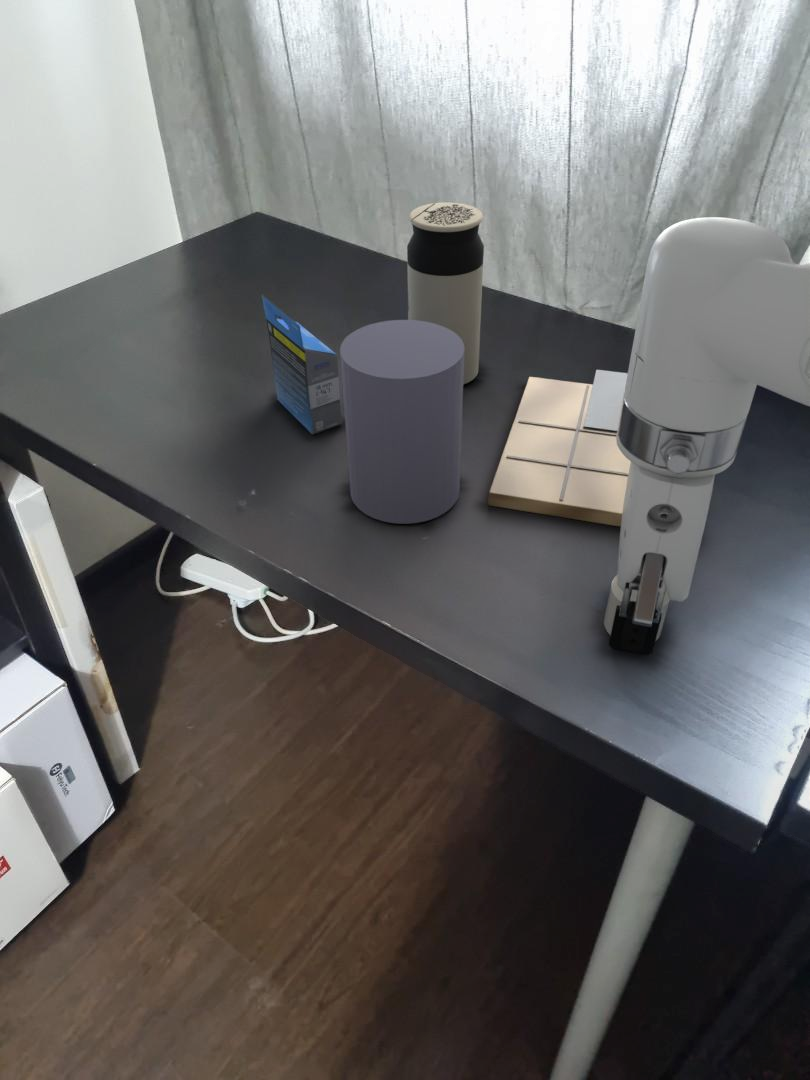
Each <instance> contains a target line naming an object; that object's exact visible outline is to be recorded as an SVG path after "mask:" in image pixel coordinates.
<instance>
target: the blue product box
mask: <svg viewBox="0 0 810 1080" xmlns="http://www.w3.org/2000/svg"><path fill="white" fill-rule="evenodd" d="M261 298H262V303H263V309H264V315H265V320H266V327H267V334H268V341H269V349H270V355H271V363H272V371H273V378H274V385H275V392H276V400H277V401H278V402H279V403H280V404H281V405H282V406H283V407H284V408H285V409H286V410H287V411H288V412H289V413H290V414H291V415H292V417H294V418H295V419H296V421H298V422H299V423H300V424H301V425H302V426H303V427H304V428H305V429H306V430H307V431H308V432H309V433H310V434H311V435H316V434H319V433H322V432H325V431H328V430H330V429H334V428H336V427H339V426H341V425H342V424H343V420H342V419H343V418H342V409H341V395H340V394H341V393H340V380H339V378H340V377H339V366H338V365H339V364H338V354H337V353H336V352H334V351H333V350H332V349H331V348H330V347H328V346H327V345H326V344H325V343H323V342H322V340H320V339H318V338H317V337H316V336H315V335H314V334H312V333H311V332H310V331H309V330H308V329H306V328H305V327H304V326H302V325H301V324H300V323H299V322H298V321H295V320H294V319H293V318H291V317H290V316H289V315H288V314H286V312H284V311H283V310H282V309H281V308H279V307H278V306H277V305H276V304H275V303H273V301H271V300H270V299H268V298H267V297H266V296H265V295H264V294H261Z"/></svg>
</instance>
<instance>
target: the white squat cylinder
mask: <svg viewBox="0 0 810 1080" xmlns="http://www.w3.org/2000/svg"><path fill="white" fill-rule="evenodd" d="M637 576H641V574H638V575H637ZM660 580H661V578H660ZM637 593H638V590H633V589H632V593H631V598H630V601H635V602H636V599H637ZM622 596H623V591H622V590H621V589H620V588H619V586H618V585H617V574H616V575H615V576H614V578H613V579H612V580H611V583H610V589H609V594H608V598H607V602H606V608H605V613H604V618H603V625H604V629H605V630H606V632H607V634H608V635H609V636H610V635H611V630H612V626H613V621H614V616H615V611H616V607H617V605H619V606H621V601H622ZM670 602H671V600H670V599H669V597H668V594H667V590H666V592H665V596H664V600H663V605H662V609H661V613H662V617H661V622H660V625H659V629H658V633H657V637H656V640H655V642H657V641H658V640H659V638H660V637H661V634H662V631H663V628H664V624H665V620H666V617H667V613H668V610H669V606H670Z"/></svg>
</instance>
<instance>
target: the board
mask: <svg viewBox="0 0 810 1080" xmlns="http://www.w3.org/2000/svg"><path fill="white" fill-rule="evenodd" d="M627 375H628V372H620V371H611V370H604V369H603V370H602V369H596V370H595V374H594V378H593V383H592V384H591V383H585V382H584V383H583V382H575V381H567V380H559V379H552V378H544V377H537V376H536V377H535V376H529V377H528V379H527V382H526V386H525V387H524V391H523V394H522V396H521V399H520V402H519V405H518V407H517V410H516V414H515V416H514V418H513V419H514V420H513V422H512V426H511V427H510V431H509V434H508V437H507V438H506V439H507V440H506V442H505V445H504V448H503V451H502V454H501V457H500V461H499V463H498V464H497V465H498V466H497V468H496V471H495V474H494V477H493V480H492V483H491V486H490V489H489V491H488V500H487V505H488V506H491V507H496V508H503V509H508V510H509V509H510V510H515V511H521V512H529V513H535V514H539V515H540V514H541V515H545V516H546V515H547V516H551V517H552V516H553V517H558V518H565V519H571V520H575V521H576V520H577V521H583V522H589V523H594V524H595V523H596V524H601V525H606V526H607V525H608V526H614V527H620V528H621V521H622V512H623V504H624V497H625V491H626V485H627V479H628V474H629V468H630V463H631V461H630V460H629V459H627V458H626V457H625V456H624V455H623V454H622V452H621V451H620V449H619V447H618V446H617V441H616V435H617V430H618V425H619V419H620V414H621V408H622V403H623V397H624V392H625V386H626V380H627Z"/></svg>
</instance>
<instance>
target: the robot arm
mask: <svg viewBox="0 0 810 1080" xmlns="http://www.w3.org/2000/svg"><path fill="white" fill-rule="evenodd" d="M638 308H639V309H638V314H637V320H636V325H635V331H634V337H633V342H632V348H631V353H630V359H629V364H628V370H627V373H628V375H627V380H626V386H625V392H624V397H623V403H622V408H621V414H620V419H619V425H618V430H617V435H616V441H617V446H618V447H619V449H620V451H621V452H622V454H623V455H624V456H625V457H626V458H627V459H629V460H630V461H631V463H630V468H629V474H628V479H627V485H626V491H625V497H624V504H623V512H622V521H621V527H620V531H619V542H618V543H619V544H618V558H617V559H618V560H617V574H616V575H617V585H618V586H619V588H620V589H621V590H622V591H623V596H622V601H621V606H619V605H617V607H616V611H615V616H614V621H613V626H612V630H611V635H609V640H608V646H609V647H610V648H613V649H617V650H622V651H627V652H632V653H637V654H642V655H643V654H644V655H651V654H652V653H653V651H654V648H655V645H656V644H655V643H656V641H657V640H656V637H657V633H658V629H659V625H660V622H661V617H662V613H661V609H662V605H663V600H664V596H665V592H666V590H667V594H668V597H669V599H670V601H675V602H678V603H682V602H684V601H685V600H686V599H688V597H689V596H690V590H691V585H692V581H693V577H694V572H695V568H696V565H697V560H698V556H699V553H700V549H701V546H702V545H701V544H702V541H703V537H704V536H703V535H704V533H705V532H704V531H705V528H706V523H707V519H708V515H709V510H710V505H711V501H712V495H713V490H714V483H715V478H716V475H718V474H720V473H723V472H724V471H726V470H727V469H728V468H730V467H731V465H732V464H733V463H734V462H735V459H736V456H737V454H738V449H739V447H740V446H739V445H740V443H741V439H742V437H743V436H742V435H743V433H744V429H745V426H746V422H747V418H748V415H749V412H750V410H751V406H752V402H753V401H754V400H753V399H754V396H755V392H756V389H757V387H758V386H759V387H762V388H764V389H767V390H768V391H771V392H773V393H776V394H778V395H781V396H782V397H784V398H786V399H789V400H790V401H794V402H797V403H799V404H801V405H804V406H807V407H809V408H810V245H808V247H807V249H806V251H804V254H803V256H802V258H801V259H800V261H799V263H796V262H794V260H792V257H791V251H790V249H789V247H788V245H787V243H786V241H785V240H784V239H783V237H781V236H780V235H779V233H776V232H775V231H773V230H772V229H770V228H768V227H766V226H763V225H760V224H757V223H755V222H752V221H747V220H743V219H739V218H731V217H721V216H720V217H718V216H716V217H715V216H713V217H712V216H707V217H705V216H704V217H696V218H689V219H684V220H681V221H678V222H676V223H673V224H671V225H670V226H668V227H666V228H665V229H664V230H663V231H662V232H661V233H660V234H659V235H658V236H657V237H656V238H655V241H654V242H653V244H652V245H651V249H650V251H649V254H648V260H647V264H646V269H645V275H644V280H643V286H642V291H641V297H640V302H639V307H638ZM638 574H641V576H637V575H638ZM660 578H661V580H660ZM632 589H633V590H638V593H637V599H636V602H635V601H630V598H631V593H632ZM655 640H656V641H655Z"/></svg>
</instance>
